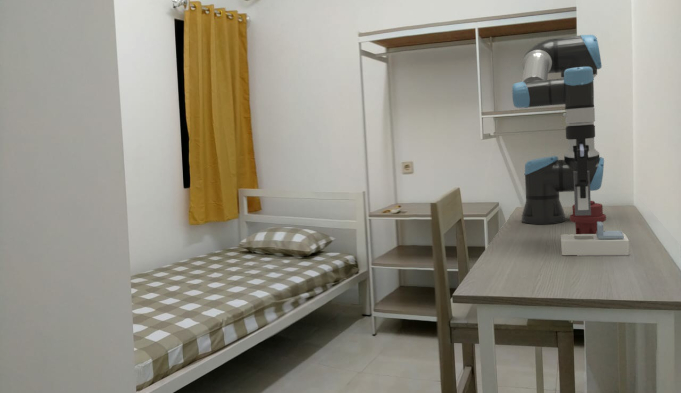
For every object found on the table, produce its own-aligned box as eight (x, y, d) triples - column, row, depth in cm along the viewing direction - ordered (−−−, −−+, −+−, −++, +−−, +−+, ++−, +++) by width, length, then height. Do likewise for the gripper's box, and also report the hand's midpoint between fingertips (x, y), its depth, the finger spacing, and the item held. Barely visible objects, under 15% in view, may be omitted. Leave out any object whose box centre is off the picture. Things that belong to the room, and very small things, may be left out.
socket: (561, 248, 180) (560, 234, 180) (625, 247, 175) (624, 233, 174) (561, 255, 171) (561, 241, 171) (629, 255, 165) (628, 240, 165)
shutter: (596, 233, 175) (596, 221, 175) (621, 233, 173) (620, 220, 173) (598, 238, 169) (597, 225, 168) (623, 238, 167) (623, 225, 166)
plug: (574, 213, 175) (573, 164, 173) (590, 212, 174) (588, 163, 172) (575, 215, 171) (573, 165, 170) (591, 215, 170) (589, 164, 168)
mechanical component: (602, 238, 189) (610, 244, 180) (568, 239, 191) (573, 246, 182) (601, 198, 188) (608, 202, 178) (566, 200, 190) (572, 204, 180)
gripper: (564, 124, 179) (567, 204, 181) (566, 126, 163) (569, 213, 165) (592, 122, 176) (595, 203, 179) (596, 123, 160) (599, 212, 163)
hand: (582, 208), depth 172 cm, fingers closed on plug, 4 cm apart
